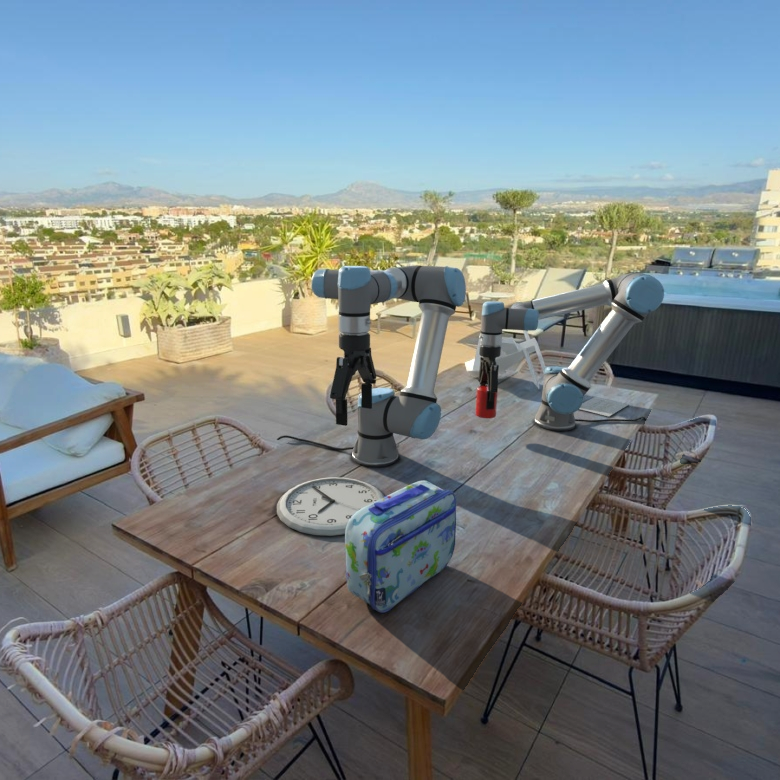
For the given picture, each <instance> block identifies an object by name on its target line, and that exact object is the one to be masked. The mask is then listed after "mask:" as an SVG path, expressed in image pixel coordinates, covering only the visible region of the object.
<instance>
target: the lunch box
mask: <svg viewBox="0 0 780 780" xmlns="http://www.w3.org/2000/svg"><path fill="white" fill-rule="evenodd" d="M456 531H457V499H456V495H455V493H454V492H453V490H450V489H442V488H440V487H439V486H437V485H435V484H433V483H432V482H430V481H428V480H418V481H416V482H413V483H410V484H409V485H406V486H405V487H402V488H400V489H398V490H396V491H394V492H392V493H390V494H388V495H385V497H384V498H382V499H380V500H378V501H376V502H374V503H372V504H370V505H368V506H366V507H364V508H362V509H360V510H358V511H357V512H355V513H354V514H353V515H352V517H351V518H350V520H349V522H348V524H347V527H346V531H345V534H344V552H345V577H346V578H345V580H346V586H347V589H348V592H349V593H350V594H352V595H354V596H356V597H357V598H359V599H361V600H363V602H365V603H367V604H368V605H370V607H371V608H372V609H373V610H375V611H376V612H378V613H380V614H382V613H383V614H385V613H387V612H389V611H391V609H393V608H394V607H395V606H396V605H397V604H400V602H401V601H402V600H404V599H406V597H409V596H410V595H411V594H412V593H414V592H415V591H416V590H417V589H418V588H420V587H421V586H422V585H423V584H424V583H425V582H427V581H428V580H430V579H432V578H433V577H434V576H436V575H437V574H439V573H441V572H442V571H443V570H445V568H446V567H447V566H448V564H449V563H450V561H451V560H452V557H453V554H454V551H455V548H456V547H455V546H456Z"/></svg>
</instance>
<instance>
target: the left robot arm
mask: <svg viewBox="0 0 780 780" xmlns="http://www.w3.org/2000/svg"><path fill="white" fill-rule="evenodd" d="M463 273H464V272H462V271H461V269H460V268H457V267H453V266H452V267H451V266H448V265H447V266H437V265H420V264H419V265H418V264H414V265H413V264H412V265H405V266H396V267H392V266H391V267H388V268H386V269H384V270H381V269H380V270H379V269H377V270H376V269H375V270H374V269H373V270H372V269H370V268H369V266H364V265H344V266H341V267H340V268H339V269H331V268H319V269H317V270H315V272H314V273H313V274H312V277H311V285H310V286H311V290H312V291H311V292H312V293H313V294H314V296H316V297H318V298H323V299H325V300H327V299H328V300H331V299H332V300H338V332H339V334H338V348H339V350H342V351H343V357H342V356H337V357H336V360H335V361H336V364H335V370H334V375H333V380H332V385H331V390H330V394H329V399H332V400H335V425H338V426H345V427H346V426H348V398H347V394H348V391H349V388H350V385H351V383H352V382H351V381H352V380H353V377H354V376H355V375H356V373H358V375H359V376H360V378H361V380H362V382H361V384H360V385H361V387H360V388H361V392H360V393H359V394H358V397H357V405H356V407H357V436H356V440H355V442H354V445H353V446H348V447H347V446H346V447H336V446H331V445H328V444H324V443H320V442H316V441H313V440H309V439H304V438H299V437H296V436H292V435H287V434H286V435H285V434H284V435H280V436H278V437H277V438H276V441H280V440H281V439H285V438H286V439H292V440H295V441H297V442H298V441H299V442H305V443H309V444H313V445H317V446H320V447H323V448H328V449H331V450H335V451H340V452H341V451H350V450H352V452H351V453H352V455H351V456H352V457H351V458H352V460H353V461H354V462H355V463H356V464H359V465H361V466H365V467H373V468H375V467H376V468H379V467H386V466H389V465H392V464H394V463H396V462H397V461H398V460H399V448H400V443H398V444H397V442H396V439H395V436H394V434H396V435H399V436H403V437H409V438H411V439H419V440H427V439H429V438H431V437H432V436H433V435H434V433H436V431H437V428H438V427H439V425H440V421H441V416H442V407H441V405H440V404H439V403H437V402H438V396H437V395H436V393H435V387H436V382H437V377H438V373H439V368H440V363H441V358H442V353H443V348H444V343H445V339H446V335H447V329H448V325H449V324H448V323H449V320H450V317H452V316H453V315H454V314H455V313H456V309H457V307H459V308H460V307H461V306H463V305H464V303H465V300H466V295H467V294H466V293H467V284H466V280H465V276H464V274H463ZM394 299H397V300H403V301H407V302H414V303H418V308H419V310H420V311H421V314H420V315H421V316H420V320H419V324H418V326H419V327H418V330H417V334H416V339H415V344H414V350H413V355H412V358H411V363H410V369H409V373H408V377H407V383H406V386H405V387H404V388H402V389H401V390H400V391H399V392H400V393H399V396H397V395H395V394H396V393H395V390H394V389H393V388H391V387H375V388H373V384H374V385H375V384H377V380H376V379H377V372H376V369H375V364H374V360H373V356H372V348H371V334H370V333H369V332H370V331H371V324H372V320H371V305H374V304H375V305H376V304H379V303H382V304H383V303H386V302H388V301H390V300H394Z"/></svg>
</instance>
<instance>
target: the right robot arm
mask: <svg viewBox="0 0 780 780" xmlns="http://www.w3.org/2000/svg"><path fill="white" fill-rule="evenodd" d="M664 298H665V289H664V286H663V284H662V282H661V281H660V280H659V279H658V278H656V277H655V276H653V275H650V274H645V273H643V272H638V271H637V272H630V273H627V274H623V275H619V276H617V277H614V278H610V279H606V280H604V281H603V283H601V284H596V285H593V286H588V287H584V288H580V289H576V290H571V291H567V292H563V293H557V294H553V295H551V296H550V295H549V296H546V297H542V298H538V299H534V300H533V299H532V300H530V301H525V302H521V301H520V302H516V303H514V304H512V306H511V307H505V303H504V302H503V301H496V300H489V301H485V302H483V304H482V309H481V317H480V318H481V319H480V321H481V322H480V323H481V324H480V333H481V336H480V335H479V336H478V340H479V339H480V344H482V345H480V351H479V354H480V356H482V357H480V370H479V376H478V378H477V379H478V382H479V387H480V386H488V391H486V392H487V400H486V409H494V399H495V392H498V393H499V389H498V388H499V375H498V369H499V365H496V360H495V358H496V357H499V356H500V353H501V347H500V345H501V343H502V339H503V330H506V331H507V330H512V331H523V330H526V331H528V332H529V331H532V332H533V331H536V330H537V329H538V328H539V327H538V326H539V321H540V320H544V319H548V318H554V317H558V316H562V315H567V314H572V313H575V312H579V311H585V310H589V309H595V308H599V307H603V306H608V307H610V308H611V310H610V311H609V313H608V314H607V315H606V316H605V318H604V319H603V321H602V322H601V323H600V325H598V328H597V329H596V330H595V331H594V333H593V334H592V336H591V337H590V338H589V339H588V341H587V342H586V343H585V345H584V346H583V347H582V349H581V350H580V351H579V353H578V354H577V355H576V357H575V358H574V360H573V361H572V362H571V364H570V365H569V366H568V367H567V366H558V365H557V366H556V365H555V366H554V365H553V366H546V369H545V373H543V384H542V394H541V402H540V405H539V407H538V410H537V411H536V413H535V416H534V424H535V425H536V426H537V427H539V428H542V429H544V430H549V431H556V432H567V431H572V430H574V429H575V428H576V422H583V423H602V422H638V421H640V420H644V421H648V419H647V418H646V417H645V416H639V417H637V418H634V419H632V418H631V419H628V418H627V419H624V418H623V419H622V418H606V419H581V418H575V417H576V416H575V412H577V411H579V410H580V409H579V408H580V407H581V405H582V403H584V397H585V395H587V393H588V392H589V390H590V389H591V387H592V386H591V381H592V379H593V378H594V376H595V375H596V374H597V373H598V372H599V370H600V369H601V368H602V366H603V365H604V363H605V362H606V361H607V360H608V359H609V357H610V356H611V354H612V353H613V352H614V350H616V348H617V347H618V346H619V344H620V343H621V341H622V340H623V339H624V338H625V336H626V335H627V334H628V332H629V331H630V330H631V329H632V327H633V326H634V325H635V324H638V323H642V322H644V320H645V318H646V317H647V315H649V313H652V312H654V311H655V310H657V309H658V308H660V306H661V305H662V303H663V301H664Z"/></svg>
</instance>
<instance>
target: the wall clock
mask: <svg viewBox="0 0 780 780" xmlns="http://www.w3.org/2000/svg"><path fill="white" fill-rule="evenodd" d="M384 497H386V495H385V494H384V493H383V492H382V491H381V490H380V489H379V488H377V487H376V486H374V485H372V484H371V483H369V482H365V481H362V480H359V479H355V478H349V477H338V476H337V477H335V476H333V477H332V476H331V477H322V478H317V479H312V480H307V481H305V482H302V483H299V484H297V485H295V486H293V487H292V488H290V489H288V490H287V491H286V492H285V493H284V494H283V495H281V496H280V498H279V499H278V502H277V503H276V515H277V517H278V518H279V520H280V521H281V522H282V523H283V524H285V525H286V526H287V527H288V528H290V529H293V530H295V531H297V532H299V533H303V534H308V535H312V536H327V537H328V536H329V537H331V536H332V537H333V536H342V535H345V531H346V527H347V524H348V522H349V520H350V518H351V517H352V515H353V514H354V513H355V512H357V511H358V510H360V509H362V508H364V507H366V506H368V505H370V504H372V503H374V502H376V501H378V500H380V499H382V498H384Z"/></svg>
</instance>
